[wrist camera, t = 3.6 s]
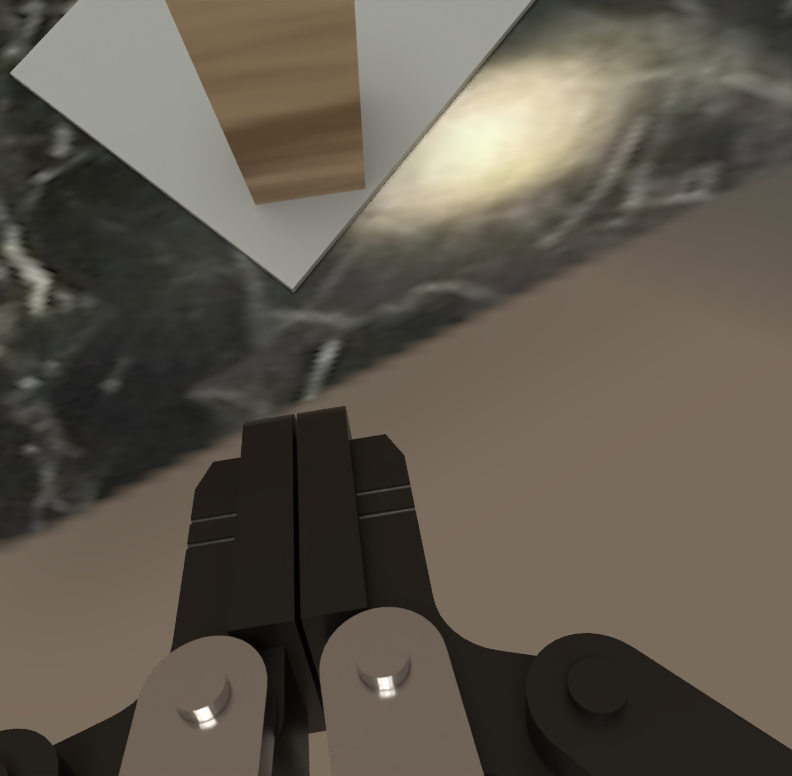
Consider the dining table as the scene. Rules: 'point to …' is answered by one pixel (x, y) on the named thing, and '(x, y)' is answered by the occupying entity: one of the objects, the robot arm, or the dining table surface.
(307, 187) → the birch block
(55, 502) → the dining table surface
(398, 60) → the rubber mat
